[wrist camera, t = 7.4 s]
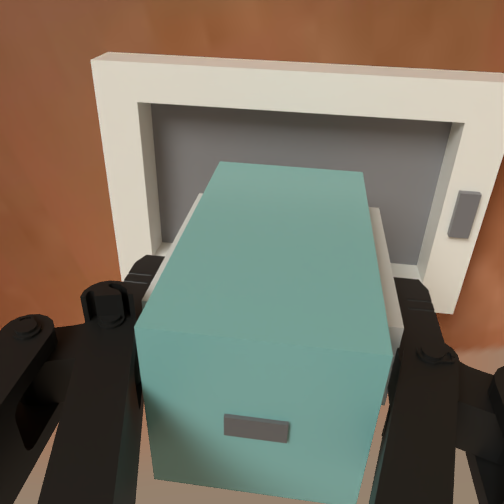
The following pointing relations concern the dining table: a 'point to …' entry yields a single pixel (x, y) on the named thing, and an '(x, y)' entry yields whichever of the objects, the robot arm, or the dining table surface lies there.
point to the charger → (268, 337)
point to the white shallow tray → (305, 146)
